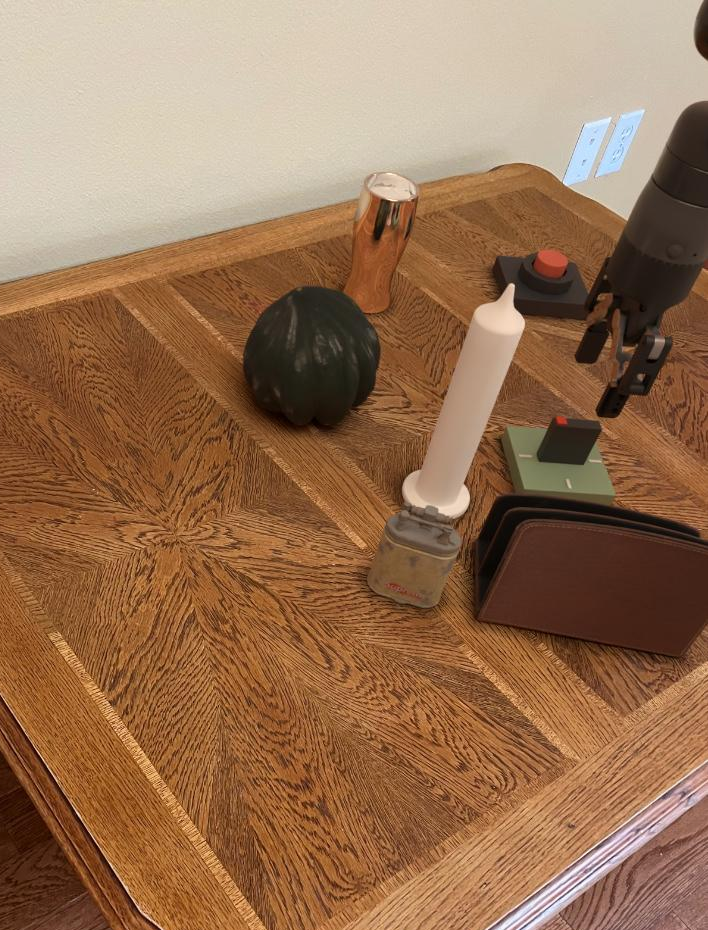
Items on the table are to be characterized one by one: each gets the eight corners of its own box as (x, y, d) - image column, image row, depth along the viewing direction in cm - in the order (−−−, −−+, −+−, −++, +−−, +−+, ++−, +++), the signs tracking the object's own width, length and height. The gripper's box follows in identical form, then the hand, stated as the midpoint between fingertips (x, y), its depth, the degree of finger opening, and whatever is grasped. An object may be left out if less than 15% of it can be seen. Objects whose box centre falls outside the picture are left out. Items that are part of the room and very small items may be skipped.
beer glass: (390, 320, 117) (420, 206, 106) (335, 309, 117) (359, 194, 106) (394, 290, 122) (423, 177, 110) (341, 280, 122) (364, 166, 110)
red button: (559, 263, 124) (564, 250, 122) (566, 280, 121) (571, 267, 120) (530, 260, 123) (534, 247, 122) (536, 277, 121) (541, 265, 119)
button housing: (569, 277, 129) (580, 250, 126) (587, 320, 123) (599, 293, 119) (491, 269, 128) (501, 242, 125) (505, 312, 121) (516, 285, 118)
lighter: (442, 587, 90) (473, 514, 82) (435, 616, 88) (466, 544, 80) (371, 565, 91) (394, 491, 83) (362, 593, 88) (385, 519, 81)
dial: (580, 456, 102) (599, 418, 98) (583, 465, 101) (603, 427, 97) (536, 453, 101) (553, 415, 97) (539, 461, 100) (556, 424, 96)
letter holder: (682, 660, 88) (762, 561, 77) (473, 622, 88) (523, 517, 77) (667, 580, 94) (739, 478, 83) (472, 545, 94) (519, 438, 83)
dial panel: (585, 445, 106) (593, 430, 104) (608, 508, 100) (617, 494, 98) (500, 439, 105) (506, 424, 103) (518, 502, 99) (524, 487, 97)
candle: (459, 530, 95) (545, 318, 76) (393, 506, 96) (462, 292, 77) (474, 487, 99) (560, 276, 80) (411, 465, 101) (481, 251, 81)
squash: (419, 356, 104) (354, 235, 97) (372, 437, 95) (297, 310, 88) (319, 389, 113) (253, 281, 106) (267, 465, 105) (192, 353, 98)
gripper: (737, 287, 77) (650, 438, 89) (684, 199, 86) (611, 347, 98) (651, 279, 76) (574, 432, 89) (606, 191, 85) (542, 341, 98)
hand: (594, 387), depth 93 cm, fingers open, 8 cm apart
